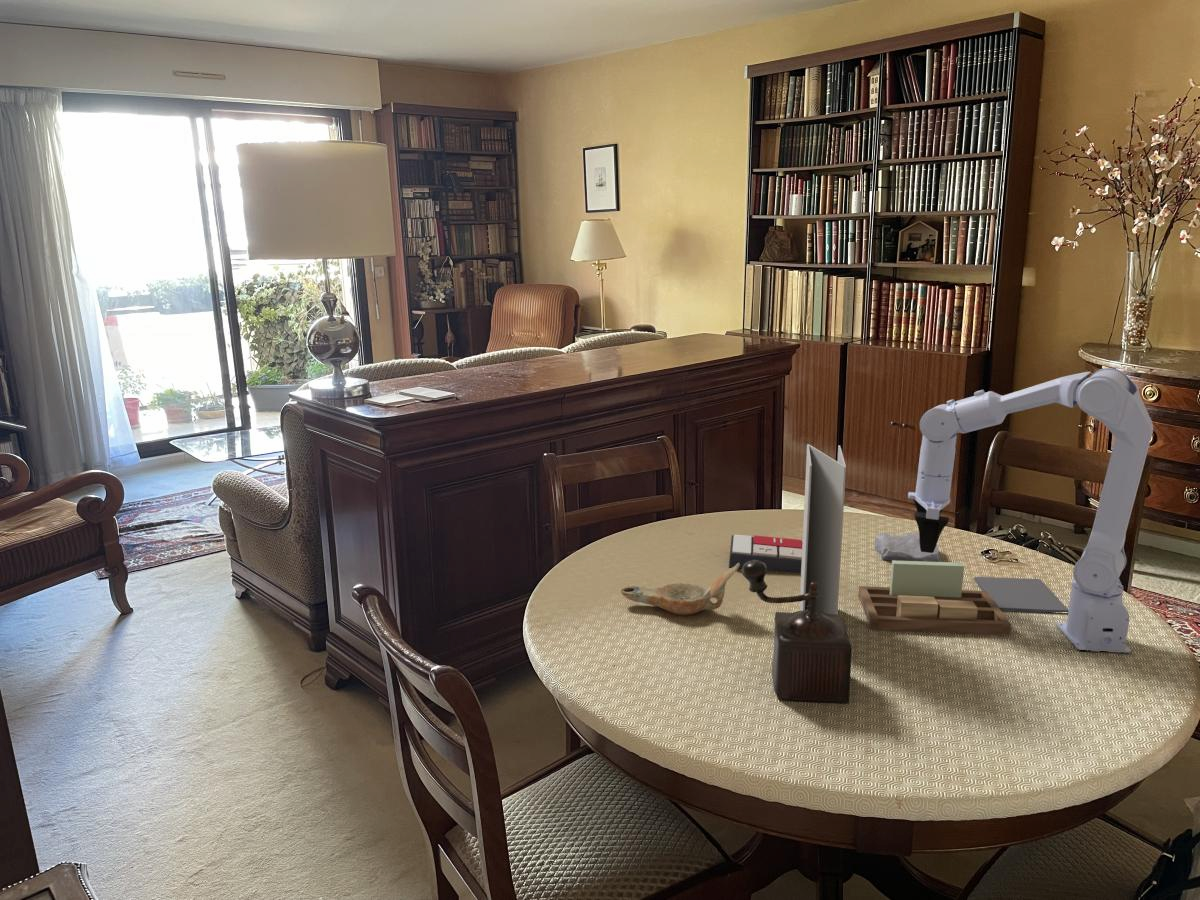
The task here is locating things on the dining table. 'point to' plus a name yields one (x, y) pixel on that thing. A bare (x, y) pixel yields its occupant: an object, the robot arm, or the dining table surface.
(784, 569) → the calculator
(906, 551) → the stone block
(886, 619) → the rack
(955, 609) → the offcut
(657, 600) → the oil lamp
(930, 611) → the offcut
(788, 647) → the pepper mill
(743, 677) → the dining table surface
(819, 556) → the brochure
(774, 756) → the dining table surface
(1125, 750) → the dining table surface
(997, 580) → the mat
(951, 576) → the pale green rectangular block
